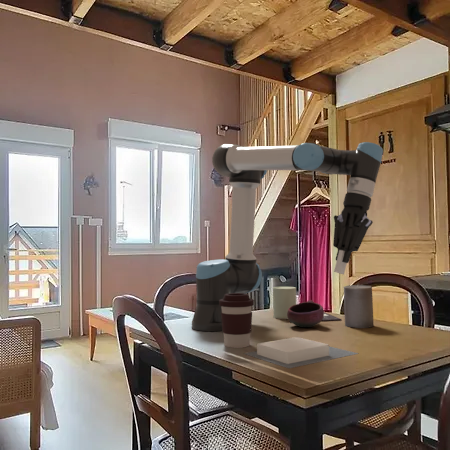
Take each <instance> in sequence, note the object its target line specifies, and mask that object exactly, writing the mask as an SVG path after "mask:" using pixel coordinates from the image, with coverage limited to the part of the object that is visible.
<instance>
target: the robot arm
mask: <svg viewBox="0 0 450 450" xmlns="http://www.w3.org/2000/svg"><path fill="white" fill-rule="evenodd" d="M383 154H384V150H383V148H382V146H380V145H379V144H377V143H375V142H369V141H365V142H360V143H358V145H357V148H356V149H355V150H349V149H345V150H344V149H337V148H332V147H327V146H323V145H319V144H316V143H314V142H303V143H301V144H295V145H293V144H292V145H271V146H270V145H269V146H268V145H267V146H242V145H239V144H231V143H224V144H221V145H219V146H218V147H216V149H215V150H214V152H213V154H212V157H211V161H212V166H213V168H214V170H215V171H216V172H217V173H218V174H219V175H221V176H223V177H225V178H226V177H227V178H228V184H229V185H230V186H231V187H232V198H231V200H232V201H231V217H230V219H231V221H230V238H229V243H230V244H229V252H228V253H227V255H226V256H225V258H224V259H211V260H204V261H201V262H199V263H198V264H197V265H196V272H195V279H196V280H195V285H196V307H195V311H194V314H193V316H192V321H191V329H193V330H195V331H201V332H219V331H220V332H221V331H222V332H223V330H222V318H221V312H222V308H221V306H220V305H219V300H220V299H223V298H224V295H225V294H229V293H245V294H248V293H252V292H255V291H256V290H257V289H258V287H260V285H261V283H262V277H263V273H262V268H260V267H261V266H260V265H259V264H258V263H257V257H256V256H255V255H254V237H255V235H254V234H255V219H256V218H255V215H256V200H257V199H256V197H257V196H256V195H257V188H259V186H261V180H262V179H264V178H265V175H266V174H267V172H268V171H303V172H304V171H305V172H306V171H311V172H320V173H322V174H327V175H340V176H349V179H348V184H347V188H346V193H345V195H344V199H343V208H342V211H341V213H340V214H338V215H336V214H335V215H333V221H334V230H333V247H334V248H336V249H337V251H336V257H335V261H336V263H335V267H334V270H333V272H334V273H337V274H340V275H345V271H346V267H347V264H349V262H350V258H351V254H352V253H353V252H358V251H359V249H360V247H361V244H362V243H363V240H364V238H365V236H366V235H367V232H368V230H369V228H370V227H371V226H372V224H373V223H374V222H373V220H372V219H369V217H368V211H369V210H370V207H371V202H372V197H373V196H374V191H375V188H376V187H375V186H376V183H377V178H378V174H379V171H380V167H381V164H382V159H383Z"/></svg>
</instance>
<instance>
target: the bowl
mask: <svg viewBox="0 0 450 450" xmlns="http://www.w3.org/2000/svg"><path fill="white" fill-rule="evenodd" d="M324 311H325V310H324V308H323V305H321V304H319V303H318V302H314V300H312V299H309V300H307V301H303V302H301V303H296V305H293V306H291V307H290V308H289V309H288V312H287V317H288V319H287V320H288V321H289V322H290V323H291V324H292V325H294V326H297V327H300V328H311V327H314V326H316V325H319V324H320V323H321V322H323V321H322V319H323V317H324Z"/></svg>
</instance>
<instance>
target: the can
mask: <svg viewBox="0 0 450 450" xmlns="http://www.w3.org/2000/svg"><path fill="white" fill-rule="evenodd" d="M272 291H273V292H272V296H273V297H272V298H273V303H272V305H273V315H272V316H273V318H274V319H279V320H289V319H288V317H287V312H288V309H289V308H290V307H291V306H293V305H296V304H297V287H294V286H273V287H272Z"/></svg>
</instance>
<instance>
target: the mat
mask: <svg viewBox="0 0 450 450" xmlns="http://www.w3.org/2000/svg"><path fill="white" fill-rule="evenodd" d="M358 354H359V353H358V352H353V351H350V350H346V349H342V348H338V347H334V346H330V345H329V356H324V357H319V358H314V359H310V360H305V361H300V362H295V363H290V364H286V363H283V362H280V361H277V360H273V359H270V358H267V357H264V356H261V355H258V354H257V350H255V351H250V352H244V353H243V355H246V356H250V357H252V358H256V359H259V360H262V361H264V362H268V363H271V364H274V365H277V366H280V367H283V368H286V369H293V368H297V367H303V366H306V365H307V366H308V365H312V364H317V363H321V362H325V361H331V360H335V359H339V358H344V357H349V356H354V355H358Z"/></svg>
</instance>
